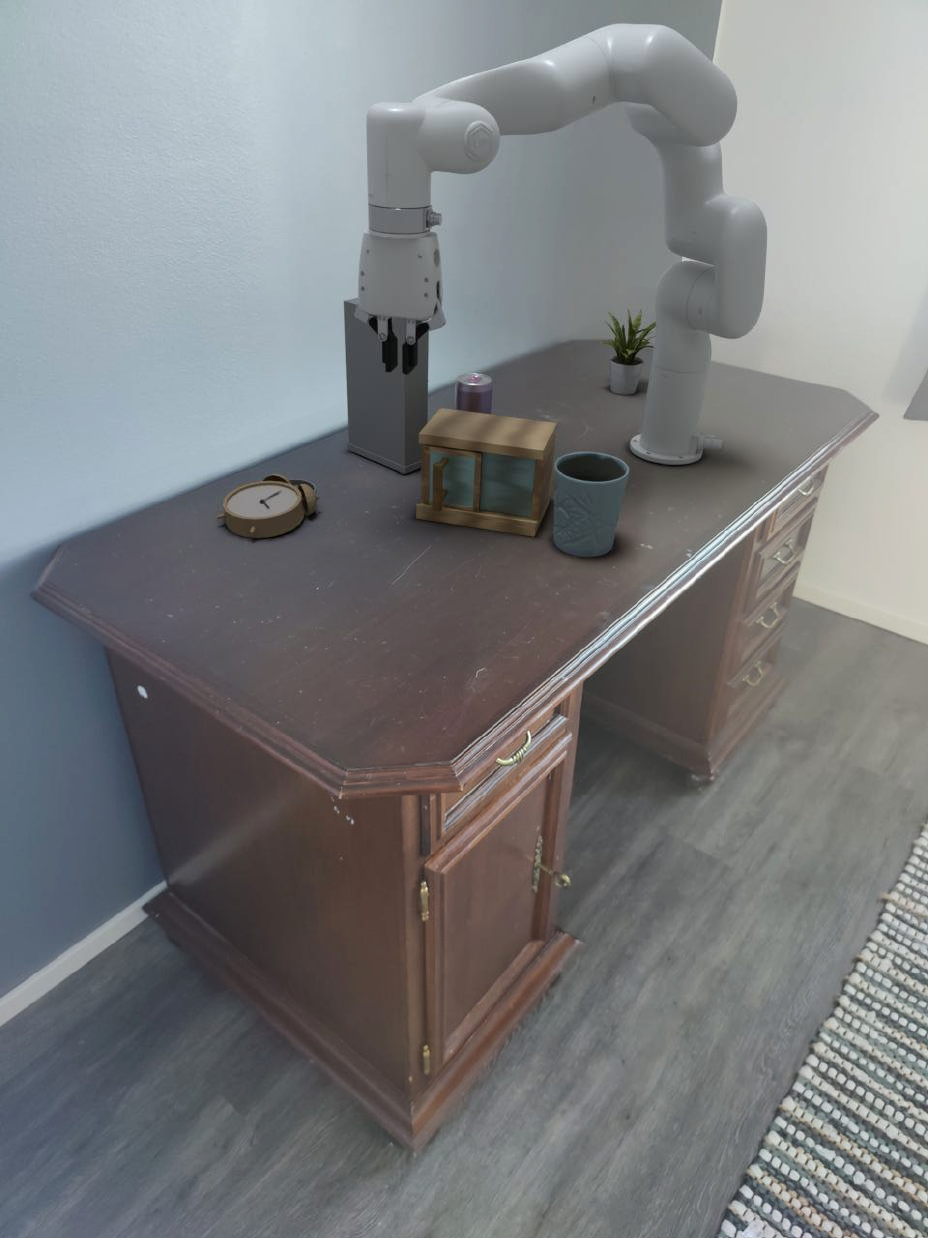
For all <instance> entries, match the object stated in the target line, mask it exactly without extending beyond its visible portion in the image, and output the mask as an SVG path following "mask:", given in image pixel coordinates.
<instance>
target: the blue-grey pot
mask: <svg viewBox="0 0 928 1238" xmlns="http://www.w3.org/2000/svg"><path fill="white" fill-rule="evenodd" d="M629 474H630V467H629V465H628V464H626V462H625V461H624V460H622V459H620V458H619V457H617V456H613V455H611V454H608V453H604V452H598V451H597V452H596V451H575V452H570V453H568V454H567V453H566V454H564V455H562V456H559V457H558V458H557V459H556V460H555V461H554V464H553V479H554V483H553V485H554V488H555V489H554V490H555V491H554V494H553V498H554V499H553V504H554V505H553V512H554V513H553V533H552V540H553V544H554V546H556V548H557V549H558V550H560V551H561V552H563V553H565V554H568V555H570V556H574V557H581V558H595V557H596V558H597V557H601V556H603V555H606V554H608V552H610V551H611V550H612V548H613V545H614V541H615V535H616V528H617V526H618V522H619V516H620V513H621V509H622V508H621V507H622V503H623V497H624V495H625V490H626V485H627V481H628V478H629Z"/></svg>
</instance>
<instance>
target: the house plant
mask: <svg viewBox="0 0 928 1238" xmlns="http://www.w3.org/2000/svg"><path fill="white" fill-rule="evenodd" d="M642 312H643V311H642V309H640V310H639V312H638V314H637V316H636V317H635V318H634V320H632V316H631V313H630V310H629V309H627V316H628V320H627V322H628V328H627V329H628V330H627V337H626V327H625V325H624V324H622V326H621V325H620V321H619V320H618V319H617V317H615V316H614V314H613V313H611V312H610V311H608V312H607V313H608V315H609V316H610V318H611V321H612V323H613V326H614V328H613V326H612V325H611V324H610V323H609V322H608V321H605V320H604V323H605V324H606V325H607V326H608V328H609V329H610V330H611V332H612V334H614V339H606V340H602V341H600V342H599V344H605V345H609V346H612V348H613V349H614V351H615V353H616V355H613V356H610V357H609V361H608V362H609V384H610V385H609V389H610V391H611V392H612V393H614V394H618V395H624V396H625V395H632V394H635V393H636V392H637V389H638V384H639V381H640V377H641V375H642V373H643V372H642V371H643V369H644V366H645V360H644V359H642V358H640V357H641V355H639V356H636V355H638V353H639V352H640V351H641V350H643V349H646V348H650V349H654V344H653V343H651V342H650V340H652V338H653V339H654V338H655V335H654V336H649V337H647V336H648V335H650V334H655V333H656V331H652V330H653V329H655V328H656V320H655V321H654V322H652V323H650V324H649V325H648V326H647V327H645V328H642V329H640V326H641V324H642V316H643V313H642ZM639 329H640V330H639ZM639 333H640V335H639V336H638V337H637V335H638V334H639ZM646 337H647V338H646ZM650 344H652V345H650ZM650 349H647V350H646V352H648V351H649V350H650Z"/></svg>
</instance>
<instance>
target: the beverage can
mask: <svg viewBox="0 0 928 1238" xmlns="http://www.w3.org/2000/svg"><path fill="white" fill-rule="evenodd" d="M493 387H494V386H493V379H492V378H491V377H490V376H489V375H486V374H482V373H474V372H472V373H471V372H469V373H462V374H460V375H458V376H457V377H456V382H455V385H454V407H453V408H454V409H453V410H460V411H467V412H475V413H483V414H491V415H492V407H493V390H494V388H493Z"/></svg>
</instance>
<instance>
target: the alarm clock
mask: <svg viewBox="0 0 928 1238" xmlns="http://www.w3.org/2000/svg"><path fill="white" fill-rule="evenodd" d="M317 492H318V491H317V486H316V484H315V483H314V482H312V481H310V480H307V479H302V478H290V479H289V478H287V477H286V476H285V475H283V474H280V473H271V474H268V475H267V476H265V477H264V478H263V480H262V481H256V482H249V483H247V484H243V485H241V486H239V487H237V488H235V489H233V490H232V491H230V492H228V494H226V496H225V497H224V498H223V502H222V509H223V513H220V514H218V515H216V518H217V520H219V519H225V524H226V527H227V528H228V530H229V531H231V532H232V533H234V534H235V535H237V536H241V537H243V538H244V537H245V538H250V539H251V538H252V539H262V538H263V539H265V538H272V537H276V536H280V535H283V534H285V533H289V532H290V531H293V530H294V529H295V528H297V527H298V526H299V525H301V522H302V521H303V520H304V518H305V516H307V517H308V516H310V515H312V514H313V513H315V511H316V509H317V505H318V504H317V503H318V500H319V499H321V498H320V496H319V495H317V494H318V493H317Z"/></svg>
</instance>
